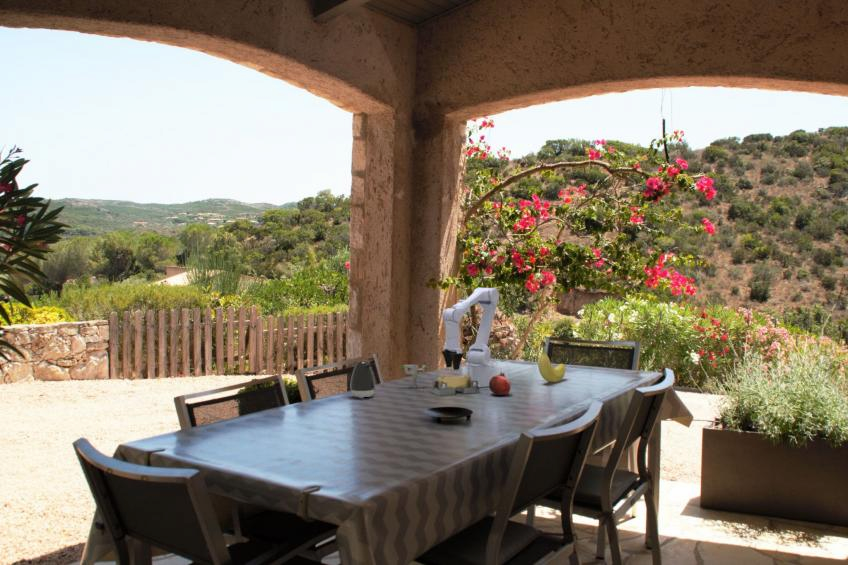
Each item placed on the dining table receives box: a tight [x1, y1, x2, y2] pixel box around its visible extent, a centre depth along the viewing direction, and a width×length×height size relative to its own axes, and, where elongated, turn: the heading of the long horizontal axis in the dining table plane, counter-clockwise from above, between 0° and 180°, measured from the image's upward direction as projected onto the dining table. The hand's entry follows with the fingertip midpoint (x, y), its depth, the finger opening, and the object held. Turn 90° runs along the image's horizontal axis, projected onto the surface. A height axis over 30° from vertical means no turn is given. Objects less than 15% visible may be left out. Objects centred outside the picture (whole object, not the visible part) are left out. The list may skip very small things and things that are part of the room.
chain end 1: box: [431, 379, 456, 397], centre depth 300 cm, size 7×10×5 cm
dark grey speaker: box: [349, 359, 376, 399], centre depth 292 cm, size 10×10×15 cm
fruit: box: [488, 371, 511, 396], centre depth 296 cm, size 9×10×10 cm
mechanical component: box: [402, 364, 427, 389], centre depth 313 cm, size 3×10×10 cm, turn 89°
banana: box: [537, 340, 567, 383], centre depth 325 cm, size 23×6×20 cm, turn 143°
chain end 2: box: [454, 380, 480, 395], centre depth 303 cm, size 7×10×5 cm
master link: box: [437, 374, 471, 388], centre depth 301 cm, size 14×3×4 cm, turn 111°
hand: (452, 368), depth 304 cm, fingers open, 7 cm apart
